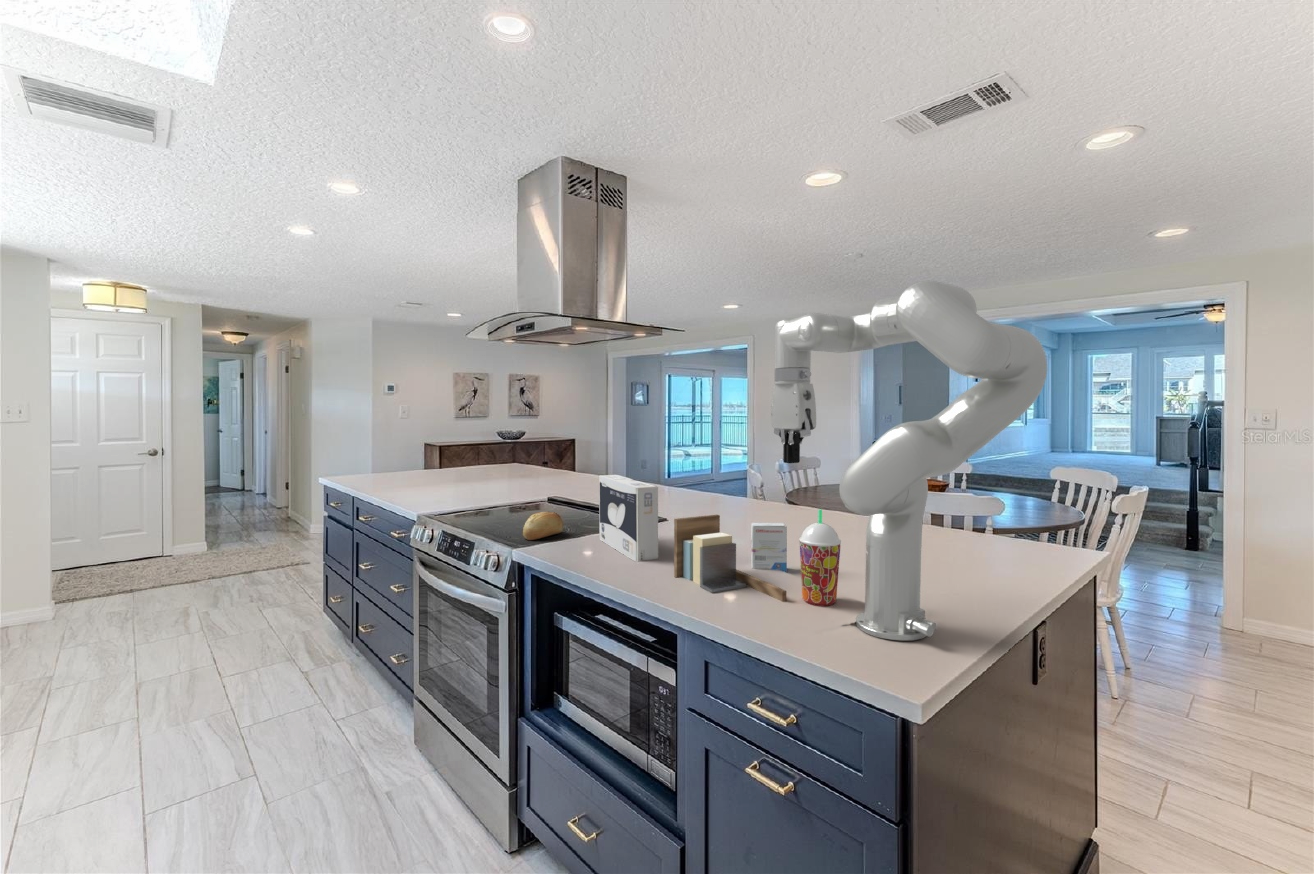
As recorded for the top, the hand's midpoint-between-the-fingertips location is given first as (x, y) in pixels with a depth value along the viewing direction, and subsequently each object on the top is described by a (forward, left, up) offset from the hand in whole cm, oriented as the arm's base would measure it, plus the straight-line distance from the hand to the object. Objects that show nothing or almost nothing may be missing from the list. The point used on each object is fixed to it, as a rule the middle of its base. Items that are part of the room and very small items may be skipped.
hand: (791, 462), depth 128 cm
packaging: (+54, +15, -29) cm, 63 cm away
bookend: (+9, +12, -28) cm, 32 cm away
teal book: (+19, +12, -28) cm, 36 cm away
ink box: (+18, -8, -29) cm, 35 cm away
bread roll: (+81, +31, -30) cm, 92 cm away
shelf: (+9, +11, -29) cm, 32 cm away
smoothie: (-8, -1, -29) cm, 30 cm away
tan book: (+14, +11, -28) cm, 34 cm away
